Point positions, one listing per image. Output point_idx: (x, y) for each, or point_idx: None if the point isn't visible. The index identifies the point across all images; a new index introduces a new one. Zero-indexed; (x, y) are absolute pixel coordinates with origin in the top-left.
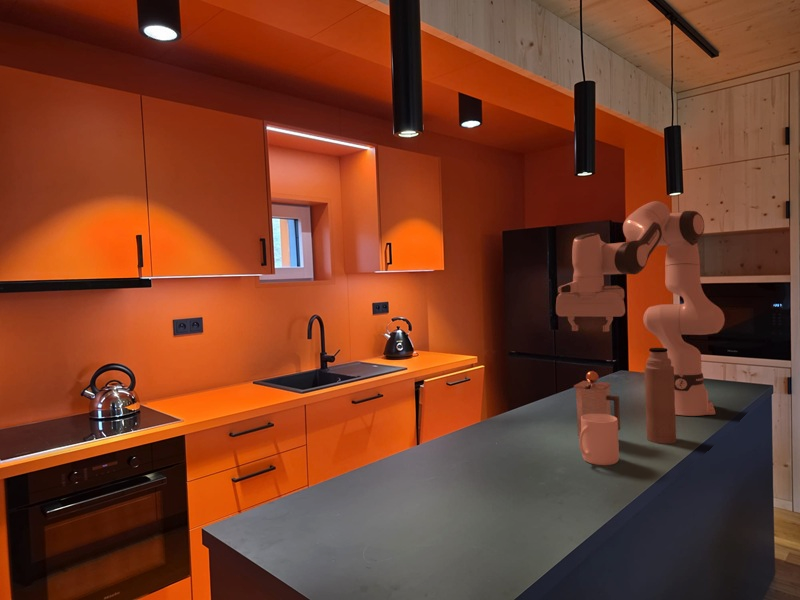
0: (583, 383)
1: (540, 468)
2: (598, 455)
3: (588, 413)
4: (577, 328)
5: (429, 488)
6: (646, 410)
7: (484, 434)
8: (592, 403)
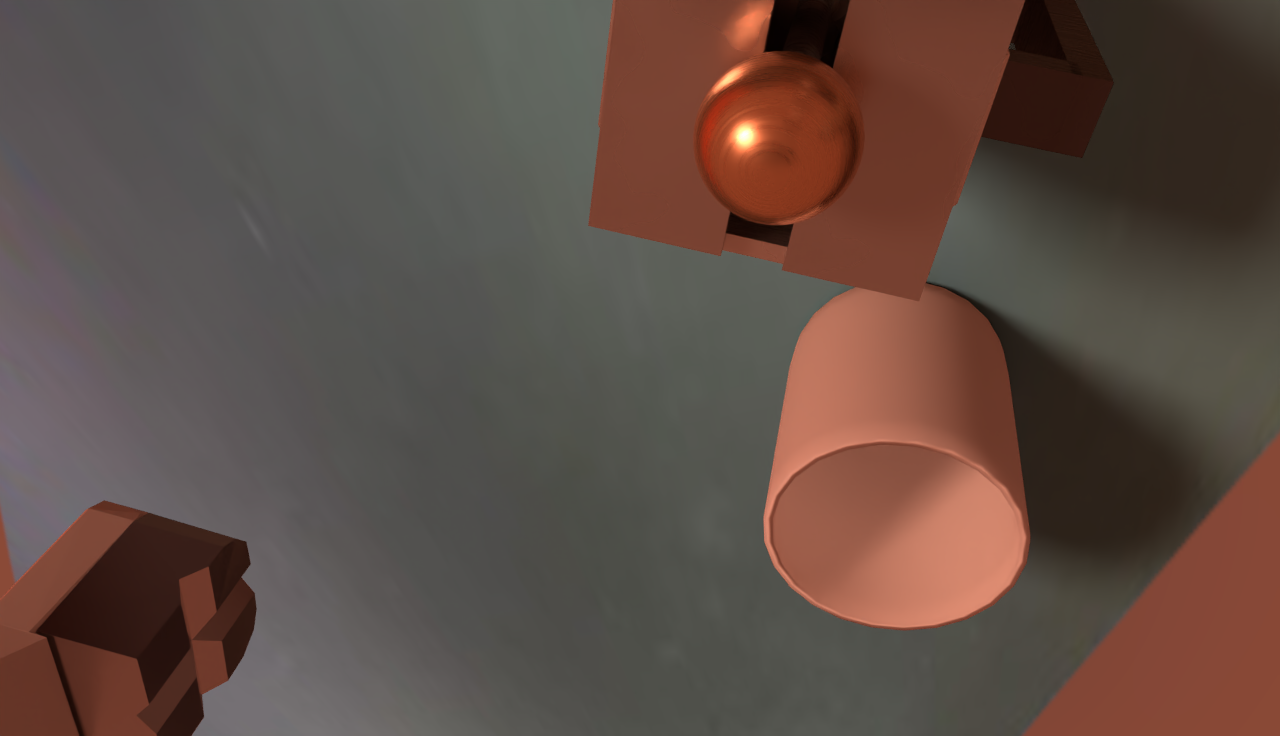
0: (668, 67)
1: (619, 525)
2: (888, 480)
3: None
4: (211, 621)
5: (336, 728)
6: None
7: (89, 77)
8: None
